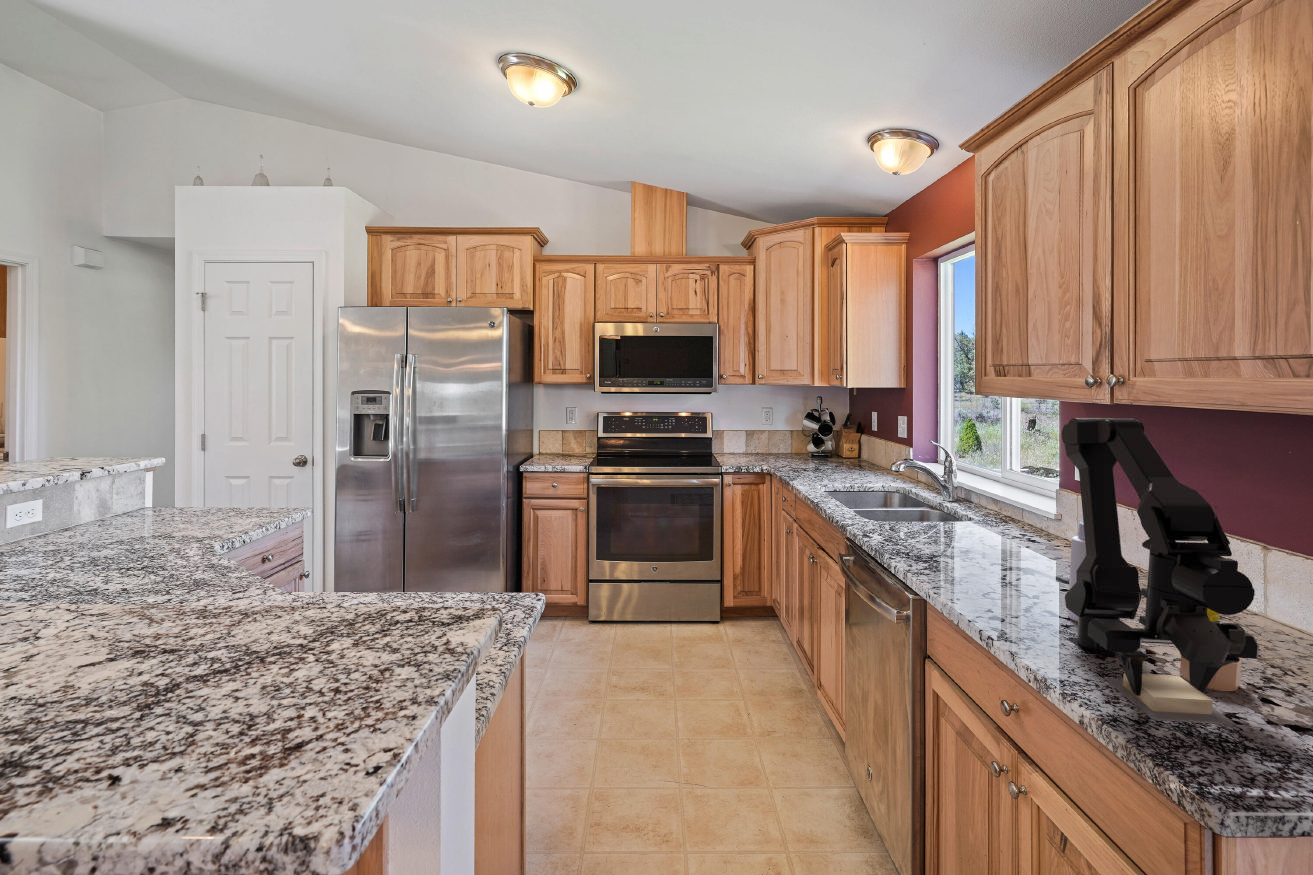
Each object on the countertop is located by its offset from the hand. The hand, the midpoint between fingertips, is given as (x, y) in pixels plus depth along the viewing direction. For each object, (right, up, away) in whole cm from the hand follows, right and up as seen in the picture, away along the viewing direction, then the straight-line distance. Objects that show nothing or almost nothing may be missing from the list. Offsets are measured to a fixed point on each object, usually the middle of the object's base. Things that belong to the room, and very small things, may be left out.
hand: (1165, 695), depth 91 cm
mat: (0, -1, 0) cm, 1 cm away
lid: (0, -1, 0) cm, 0 cm away
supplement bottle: (+29, +2, +29) cm, 41 cm away
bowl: (+11, -1, +6) cm, 12 cm away
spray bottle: (+9, +2, +31) cm, 32 cm away
